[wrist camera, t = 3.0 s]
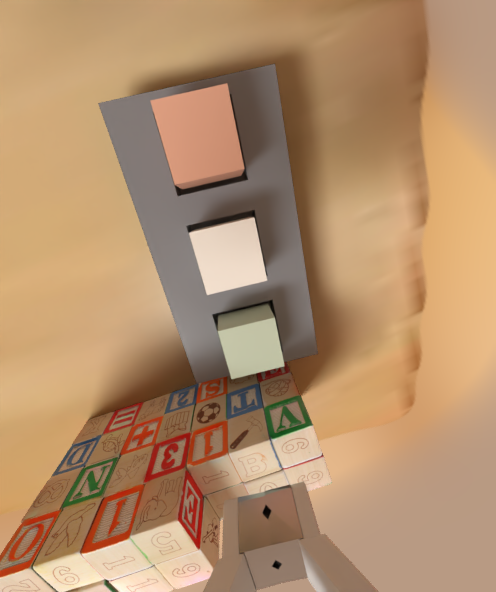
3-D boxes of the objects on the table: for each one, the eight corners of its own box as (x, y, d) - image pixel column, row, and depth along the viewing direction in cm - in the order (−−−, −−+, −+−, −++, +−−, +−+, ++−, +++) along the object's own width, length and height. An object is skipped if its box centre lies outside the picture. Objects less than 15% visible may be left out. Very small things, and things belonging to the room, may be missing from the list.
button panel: (117, 120, 18) (98, 103, 15) (266, 86, 18) (275, 63, 15) (199, 364, 25) (196, 383, 22) (307, 337, 25) (318, 353, 22)
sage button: (218, 315, 21) (217, 331, 18) (267, 303, 21) (274, 317, 18) (230, 358, 22) (231, 379, 19) (276, 346, 22) (284, 366, 19)
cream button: (194, 229, 18) (188, 232, 16) (249, 216, 19) (254, 217, 16) (209, 283, 20) (206, 295, 17) (261, 270, 20) (267, 280, 17)
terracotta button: (162, 120, 16) (150, 100, 13) (226, 106, 16) (227, 83, 13) (182, 189, 18) (174, 184, 15) (241, 175, 18) (244, 168, 15)
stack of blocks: (283, 351, 25) (334, 468, 14) (299, 398, 28) (354, 534, 16) (86, 419, 26) (-26, 589, 14) (116, 460, 28) (39, 638, 16)
